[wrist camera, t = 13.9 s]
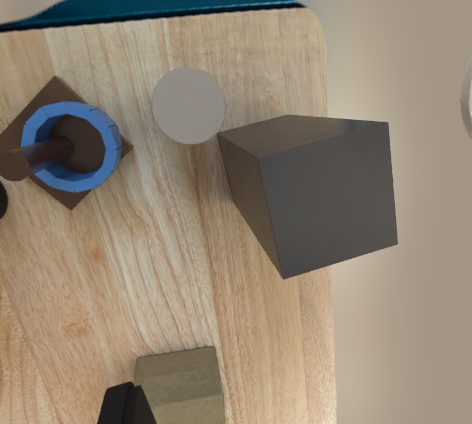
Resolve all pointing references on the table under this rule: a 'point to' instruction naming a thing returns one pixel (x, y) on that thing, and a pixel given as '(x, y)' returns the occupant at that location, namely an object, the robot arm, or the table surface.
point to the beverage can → (3, 200)
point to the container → (188, 106)
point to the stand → (54, 144)
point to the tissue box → (183, 386)
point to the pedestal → (313, 188)
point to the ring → (56, 173)
